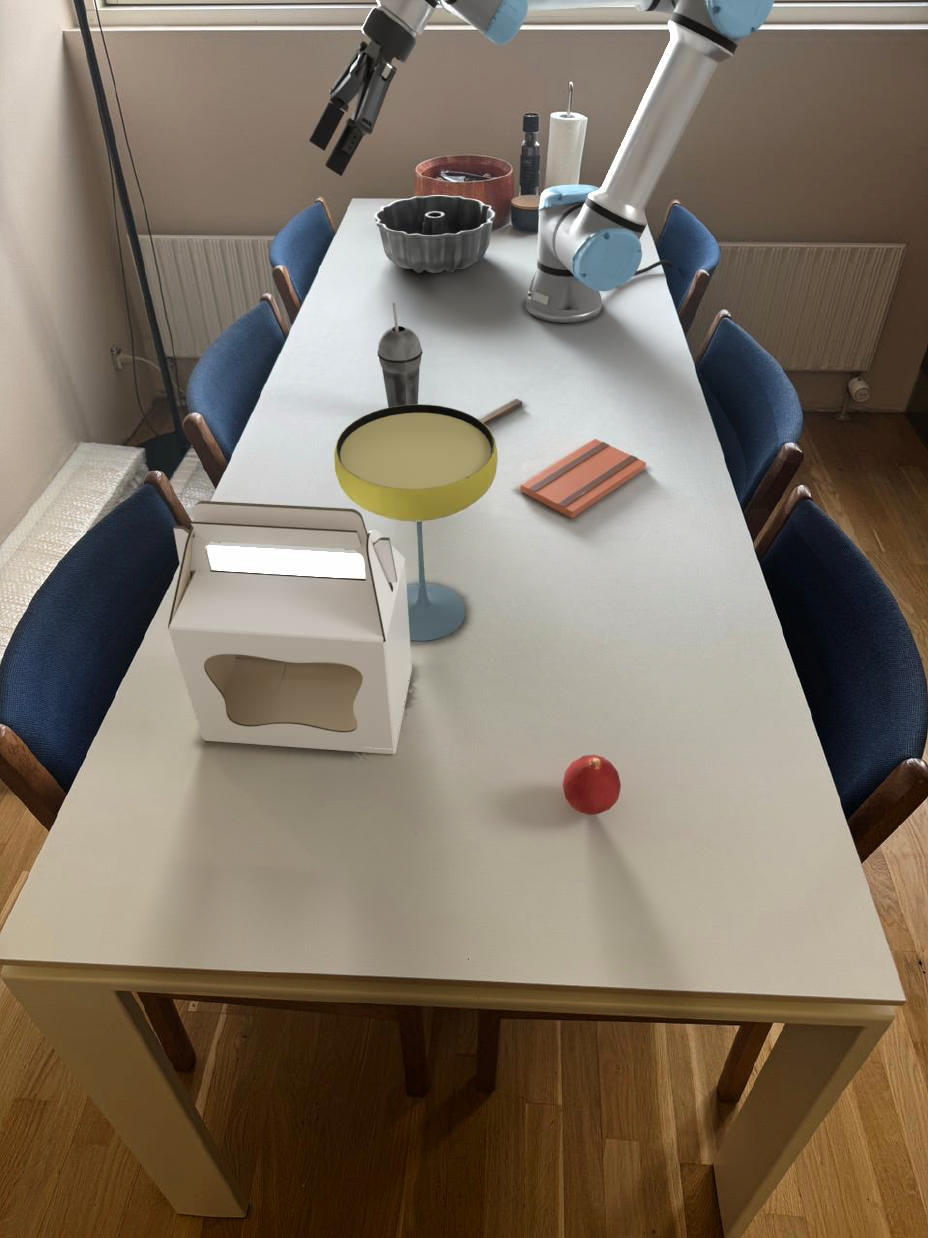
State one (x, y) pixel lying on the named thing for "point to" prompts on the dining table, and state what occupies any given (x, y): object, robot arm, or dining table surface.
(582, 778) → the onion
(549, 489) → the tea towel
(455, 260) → the bundt pan
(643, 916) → the dining table surface
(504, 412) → the spatula
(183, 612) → the gable box
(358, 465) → the cocktail glass
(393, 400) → the beverage cup
